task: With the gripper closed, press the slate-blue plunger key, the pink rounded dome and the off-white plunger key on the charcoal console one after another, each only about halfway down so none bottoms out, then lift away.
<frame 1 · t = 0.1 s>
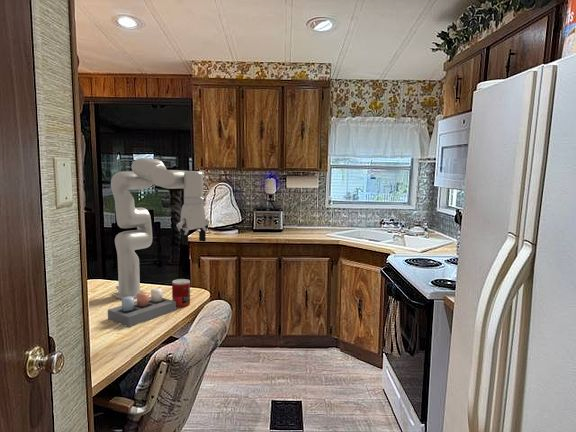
hand: (193, 242, 158), 31 cm above the table, tool pointing down, fingers open, 9 cm apart
white key: (156, 294, 166), point 7 cm above the table, slide at 0.0 cm
console: (143, 314, 161), on the table
canned food: (181, 305, 174), on the table
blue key: (127, 303, 154), point 7 cm above the table, slide at 0.0 cm
pink rounded dome: (142, 299, 160), point 7 cm above the table, slide at 0.0 cm
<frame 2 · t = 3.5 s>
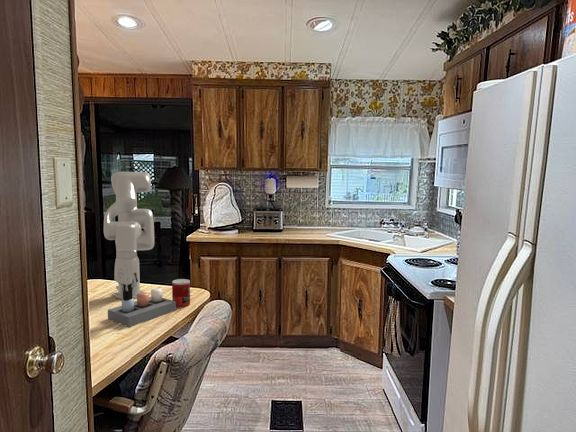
hand: (127, 299, 154), 9 cm above the table, tool pointing down, fingers closed
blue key: (127, 304, 155), point 6 cm above the table, slide at 0.6 cm, touching gripper
everything else where it was.
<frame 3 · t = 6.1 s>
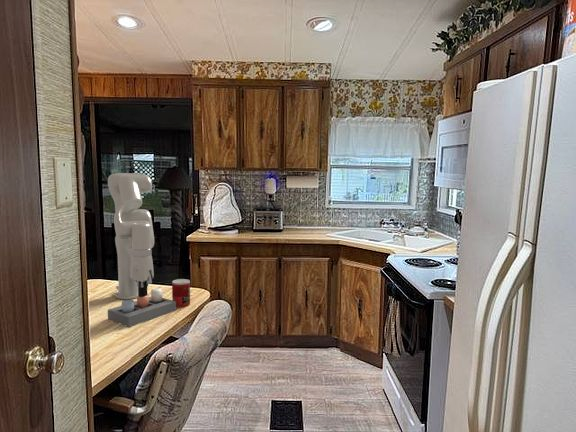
hand: (142, 295, 160), 8 cm above the table, tool pointing down, fingers closed
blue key: (128, 306, 155), point 5 cm above the table, slide at 1.4 cm
pink rounded dome: (142, 301, 160), point 6 cm above the table, slide at 0.8 cm, touching gripper
everything else where it was.
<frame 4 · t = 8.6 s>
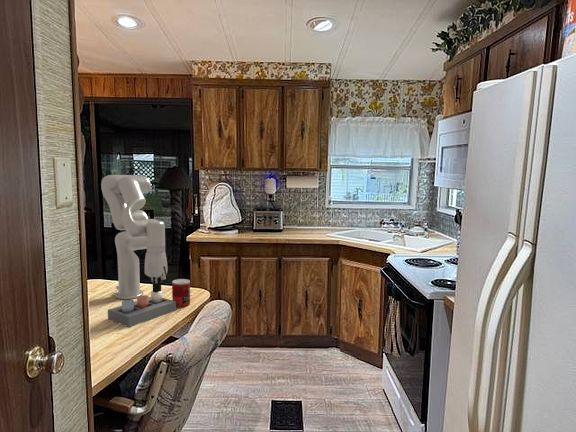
hand: (157, 291, 166), 8 cm above the table, tool pointing down, fingers closed
white key: (156, 296, 166), point 6 cm above the table, slide at 0.7 cm, touching gripper
pink rounded dome: (142, 302, 160), point 5 cm above the table, slide at 1.4 cm
everything else where it was.
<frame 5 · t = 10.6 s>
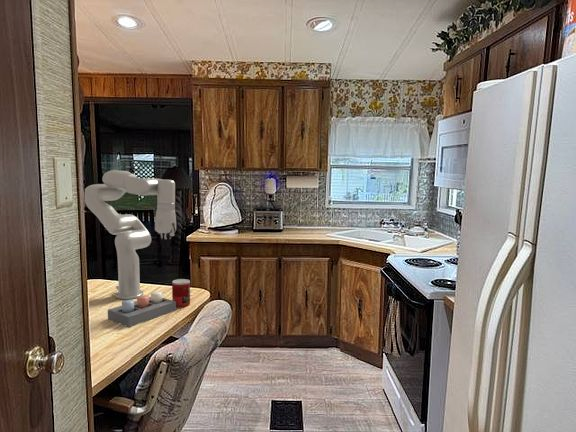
hand: (165, 247, 173), 26 cm above the table, tool pointing down, fingers closed
white key: (156, 298, 166), point 5 cm above the table, slide at 1.4 cm
everything else where it was.
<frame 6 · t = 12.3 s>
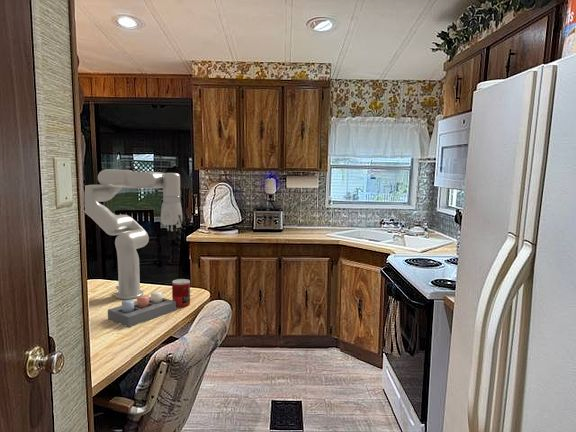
hand: (172, 239, 177), 29 cm above the table, tool pointing down, fingers closed
nothing on the table moved.
at the end: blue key slide at 1.4 cm; pink rounded dome slide at 1.4 cm; white key slide at 1.4 cm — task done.
